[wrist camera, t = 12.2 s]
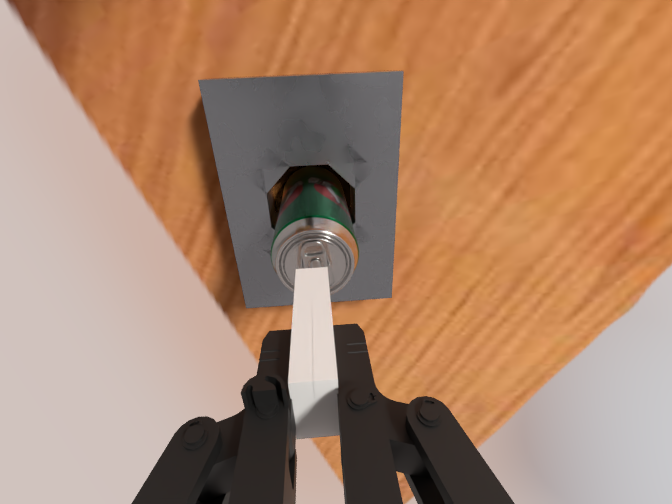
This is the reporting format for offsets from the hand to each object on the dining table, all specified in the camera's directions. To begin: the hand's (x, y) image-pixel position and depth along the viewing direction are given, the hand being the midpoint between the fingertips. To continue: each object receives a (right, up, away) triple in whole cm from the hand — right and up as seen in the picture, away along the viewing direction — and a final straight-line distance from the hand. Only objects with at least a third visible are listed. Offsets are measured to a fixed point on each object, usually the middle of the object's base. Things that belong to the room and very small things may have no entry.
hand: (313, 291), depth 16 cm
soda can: (-1, +7, +13) cm, 14 cm away
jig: (-1, +7, +12) cm, 14 cm away
